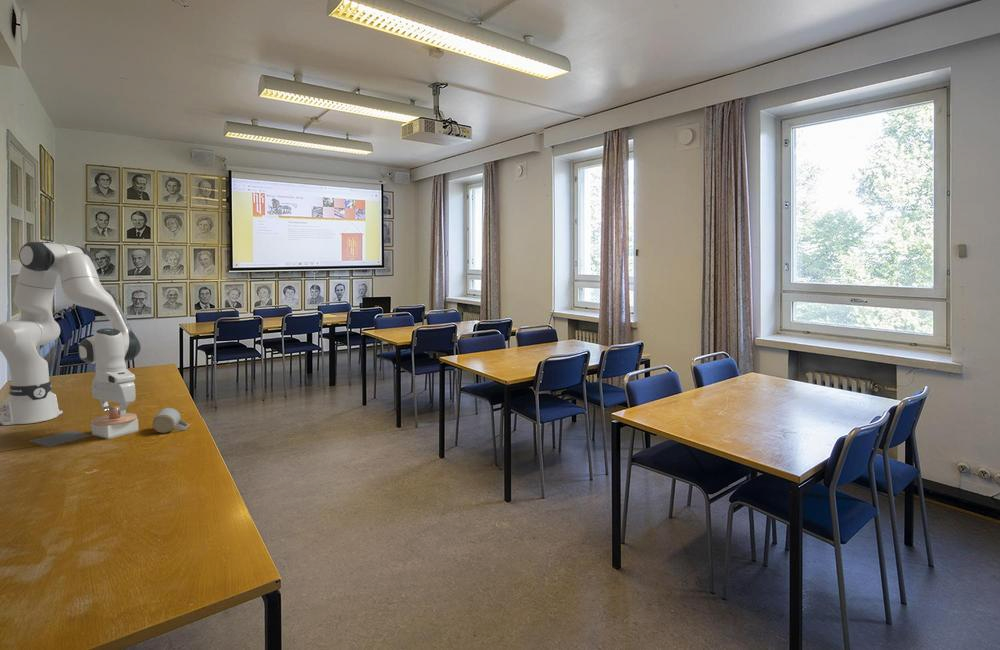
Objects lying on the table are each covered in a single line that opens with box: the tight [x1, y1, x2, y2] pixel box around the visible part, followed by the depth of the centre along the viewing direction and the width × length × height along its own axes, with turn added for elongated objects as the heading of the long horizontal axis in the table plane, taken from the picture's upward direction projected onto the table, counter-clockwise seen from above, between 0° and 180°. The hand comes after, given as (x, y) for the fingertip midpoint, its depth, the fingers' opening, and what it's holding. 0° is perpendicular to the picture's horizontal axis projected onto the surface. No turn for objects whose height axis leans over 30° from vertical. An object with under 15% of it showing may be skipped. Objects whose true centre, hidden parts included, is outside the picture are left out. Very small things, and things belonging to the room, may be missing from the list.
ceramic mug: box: [152, 407, 189, 434], centre depth 195 cm, size 11×8×8 cm
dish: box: [90, 417, 140, 440], centre depth 190 cm, size 10×10×5 cm
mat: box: [28, 430, 93, 448], centre depth 184 cm, size 13×13×1 cm
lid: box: [91, 405, 138, 426], centre depth 189 cm, size 13×13×5 cm
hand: (114, 412), depth 189 cm, fingers open, 8 cm apart
